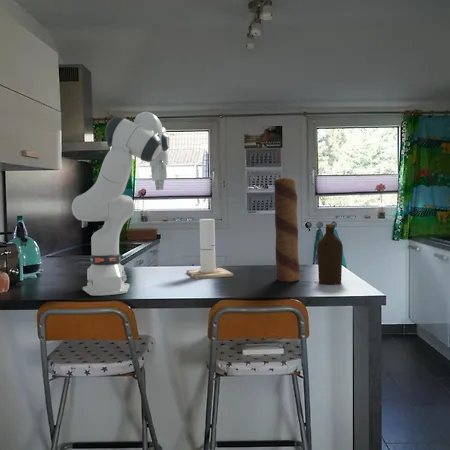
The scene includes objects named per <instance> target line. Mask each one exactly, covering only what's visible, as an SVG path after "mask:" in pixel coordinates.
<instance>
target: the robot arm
mask: <svg viewBox="0 0 450 450" xmlns="http://www.w3.org/2000/svg"><path fill="white" fill-rule="evenodd" d="M104 136H105V140H106V142H107V143H106V144H107V145H106V146H108V147H109V148H110V149H109V150H108V152H107V154H106V155H105V157H104V159H103V162H102V164H101V167H100V171H99V174H98V177H97V179H96V181H95V182H94V184H93V185H92V186H91V187H90V188H89V189H88V190H87V191H85V192H84V193H81V194H79V195H77V196H76V197H74V199H73V201H72V203H71V213H72V215H73V216H74V217H75V218H76V219H77V220H78V221H83V222H104V224H103V225H102V227H101V228H100V229H98V230H96V231H95V232H94V233H93V234H92V236H91V238H90V240H91V241H90V245H91V255H90V258H89V259H90V264H91V265H90V266H89V267H88V268H87V272H86V274H87V276H86V277H87V278H86V279H87V280H86V283H87V285H86V286H83V287H82V291H84V292H86V293H87V294H88V295H90V296H95V297H96V296H111V295H112V296H113V295H120V294H121V295H122V294H127V293H128V290H129V289H130V283H127V282H126V281H127V277H128V276H127V274H126V271H125V267H124V265H122V264H121V262H122V261H121V253H120V234H121V232H122V230H123V226H124V225H125V224H126V222H127V221H128V220H129V219H131V218H132V216H133V214H134V213H135V209H136V204H135V201H134V199H133V198H132V196H129V195H127V194H124V192H125V190H126V188H127V184H128V181H129V179H130V176H131V172H132V167H133V156H134V157H136V158H138V159H140V160H141V161H144V162H147V163H149V167H150V171H151V179H152V181H153V182H154V186H155V190H156V191H159V190H160V191H162V190H164V184H165V180H167V175H168V174H167V166H168V165H169V153H168V149H170V137H169V135H168V134H167V129H166V128H165V127H164V126H163V125H162V121H160V119H159V118H158V116H157V115H156V114H154V113H152V112H149V111H142V112H140V113H138V114H137V115H136V116H135V118H134V121H131V120H129V119H127V118H126V117H124V116H121V115H114V116H113V117H111V119H110V120H109V121H108V122H107V124H106V126H105V129H104ZM125 282H126V283H125Z"/></svg>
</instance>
